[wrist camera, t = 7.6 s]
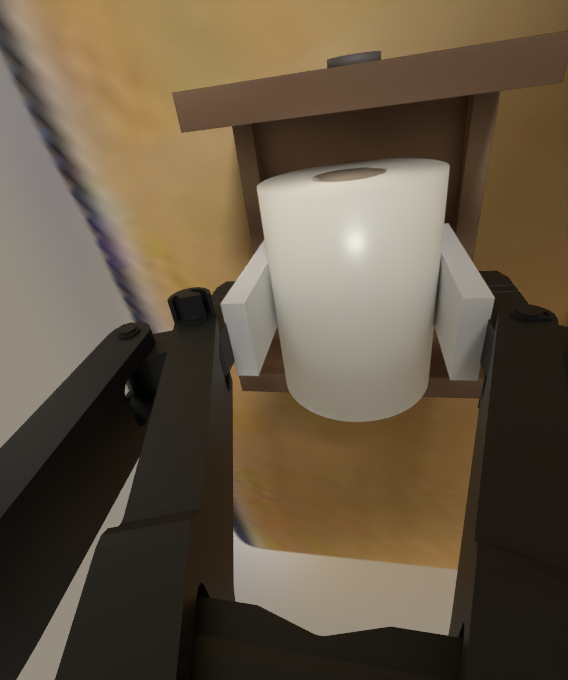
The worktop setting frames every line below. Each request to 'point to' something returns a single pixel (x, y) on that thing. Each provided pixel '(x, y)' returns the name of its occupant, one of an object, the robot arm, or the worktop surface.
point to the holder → (377, 135)
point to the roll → (356, 281)
